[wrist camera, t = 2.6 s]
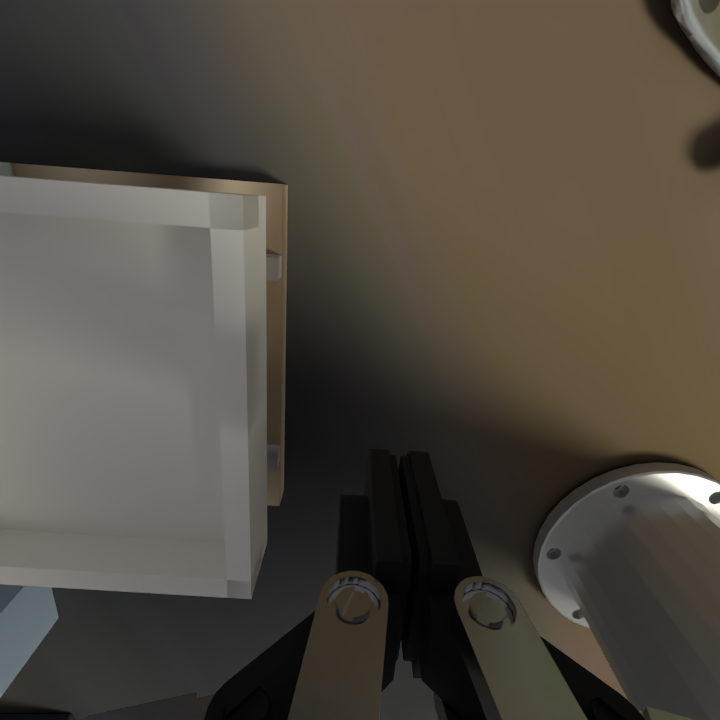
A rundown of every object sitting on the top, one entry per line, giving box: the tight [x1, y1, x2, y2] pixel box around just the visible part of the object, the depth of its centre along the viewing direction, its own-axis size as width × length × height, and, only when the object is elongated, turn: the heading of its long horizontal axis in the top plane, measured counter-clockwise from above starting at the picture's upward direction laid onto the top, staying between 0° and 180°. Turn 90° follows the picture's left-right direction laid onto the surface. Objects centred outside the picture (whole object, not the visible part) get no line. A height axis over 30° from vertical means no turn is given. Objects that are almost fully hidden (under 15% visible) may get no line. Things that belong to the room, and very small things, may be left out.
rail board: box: [0, 162, 288, 506], centre depth 21 cm, size 25×17×2 cm
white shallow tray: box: [0, 175, 267, 599], centre depth 18 cm, size 13×16×5 cm
